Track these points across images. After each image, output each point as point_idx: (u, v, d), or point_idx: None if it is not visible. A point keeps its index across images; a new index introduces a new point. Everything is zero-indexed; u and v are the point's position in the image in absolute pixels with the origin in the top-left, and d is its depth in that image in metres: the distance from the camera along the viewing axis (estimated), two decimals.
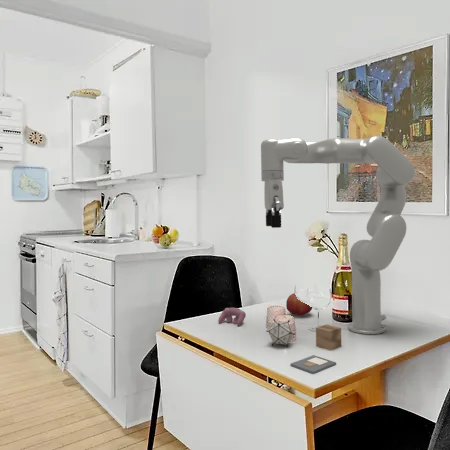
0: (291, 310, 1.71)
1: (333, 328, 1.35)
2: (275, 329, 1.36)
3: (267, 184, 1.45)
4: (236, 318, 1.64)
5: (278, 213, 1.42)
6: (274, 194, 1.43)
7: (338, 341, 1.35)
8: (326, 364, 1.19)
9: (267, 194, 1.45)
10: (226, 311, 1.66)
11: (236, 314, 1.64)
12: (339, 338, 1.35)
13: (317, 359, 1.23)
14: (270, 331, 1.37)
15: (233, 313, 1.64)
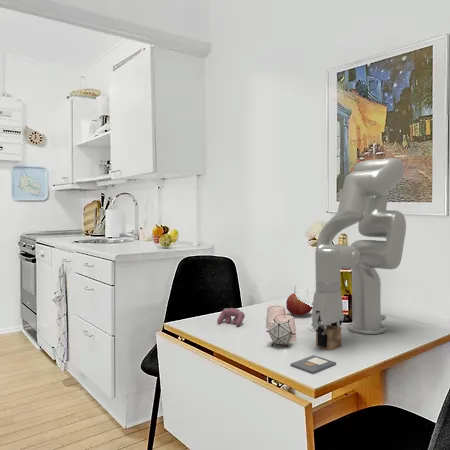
0: (291, 309, 1.71)
1: (333, 328, 1.35)
2: (275, 329, 1.36)
3: (339, 295, 1.35)
4: (235, 319, 1.64)
5: None
6: None
7: (338, 341, 1.35)
8: (326, 364, 1.19)
9: (339, 306, 1.36)
10: (225, 312, 1.65)
11: (235, 315, 1.63)
12: (339, 338, 1.35)
13: (317, 359, 1.23)
14: (270, 331, 1.37)
15: (232, 314, 1.64)
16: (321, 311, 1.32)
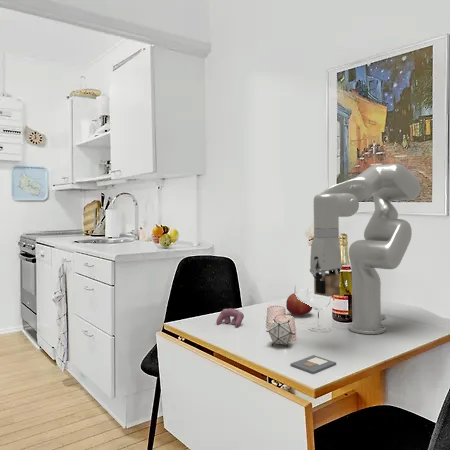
0: (291, 310, 1.71)
1: (331, 275, 1.34)
2: (275, 329, 1.36)
3: (337, 242, 1.35)
4: (234, 319, 1.63)
5: None
6: None
7: (337, 288, 1.34)
8: (326, 364, 1.19)
9: (337, 253, 1.35)
10: (224, 312, 1.65)
11: (234, 315, 1.62)
12: (337, 285, 1.34)
13: (317, 359, 1.23)
14: (270, 331, 1.37)
15: (231, 314, 1.63)
16: (319, 256, 1.31)
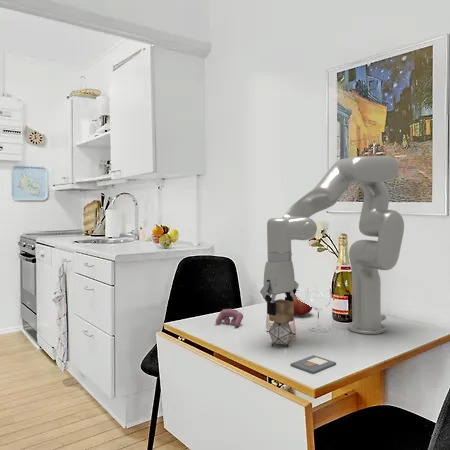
0: None
1: (285, 302, 1.37)
2: (275, 329, 1.36)
3: (290, 265, 1.37)
4: (233, 319, 1.62)
5: None
6: None
7: (290, 315, 1.37)
8: (326, 364, 1.19)
9: (290, 276, 1.37)
10: (223, 312, 1.64)
11: (233, 315, 1.62)
12: (291, 312, 1.37)
13: (317, 359, 1.23)
14: (270, 331, 1.37)
15: (230, 314, 1.62)
16: (271, 279, 1.33)
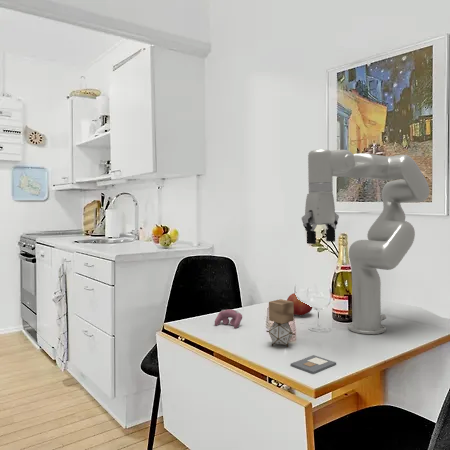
0: None
1: (285, 302, 1.37)
2: (275, 329, 1.36)
3: (331, 197, 1.38)
4: (233, 320, 1.62)
5: None
6: None
7: (290, 315, 1.37)
8: (326, 364, 1.19)
9: (331, 207, 1.38)
10: (222, 313, 1.63)
11: (233, 316, 1.61)
12: (291, 312, 1.37)
13: (317, 359, 1.23)
14: (270, 331, 1.37)
15: (229, 315, 1.62)
16: (313, 209, 1.35)
